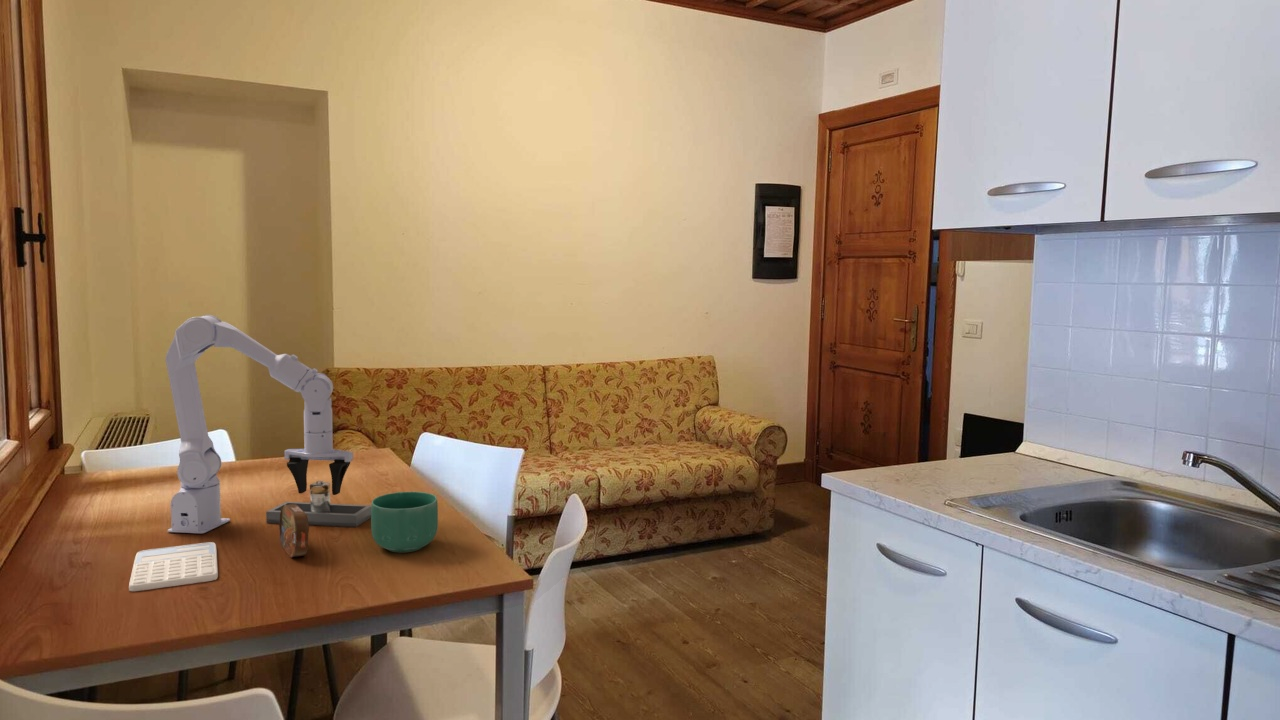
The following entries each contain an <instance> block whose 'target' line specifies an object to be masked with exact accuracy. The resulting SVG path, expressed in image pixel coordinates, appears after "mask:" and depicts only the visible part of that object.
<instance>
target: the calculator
mask: <svg viewBox="0 0 1280 720" xmlns="http://www.w3.org/2000/svg"><path fill="white" fill-rule="evenodd" d="M218 577H219V569H218V552H217V544H216V543H215V542H213V541H212V542H211V541H210V542H209V541H208V542H201V543H200V542H199V543H191V544H184V545H176V546H175V545H174V546H167V547H158V548H149V549H144V550H139V551H137V552H136V555H135V557H134V561H133V565H132V570H131V574H130V579H129V584H128V591H129V592H141V591H148V590H154V589H155V590H156V589H162V588H168V587H169V588H170V587H176V586H185V585H191V584H192V585H193V584H199V583H205V582H211V581H216V580H217V579H218Z"/></svg>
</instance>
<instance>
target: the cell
mask: <svg viewBox="0 0 1280 720" xmlns="http://www.w3.org/2000/svg"><path fill="white" fill-rule="evenodd" d="M309 496H310V497H309V498H310V502H309V503H311V512H319V513H331V512H330V504H331V483H330V482H327V481H324V480H317V481H316V482H313V483H312V482H311V483H310V484H309Z"/></svg>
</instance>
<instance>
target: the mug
mask: <svg viewBox="0 0 1280 720" xmlns="http://www.w3.org/2000/svg"><path fill="white" fill-rule="evenodd" d="M370 505H371V518H370V524H371V526H370V528H371V535H372V538H373V540H374V542H375V543H376V544H377V545H378V546H380V547H381V548H383V549H386V550H387V551H390V552H393V553H411V552H416V551H418V550H421V549H422V548H424V547H425V546H427V545H429V544H430V543H432V541H433V540H434V539H435V537H436V536H437V535H436V534H437V532H438V526H439V513H438V512H439V511H438V510H439V508H438V498H437V496H436V495H435V494H433V493H429V492H423V491H401V492H399V491H398V492H393V493H386V494H382V495H380V496H377V497H375V498H374V499H373V500H372V501H371V504H370Z"/></svg>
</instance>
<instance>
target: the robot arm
mask: <svg viewBox="0 0 1280 720" xmlns="http://www.w3.org/2000/svg"><path fill="white" fill-rule="evenodd" d="M213 346H214V348H230V349H231V348H232V349H234V350H236V351H238V352H239V353H241V354H243V355H245V356H247V357H249V358H250V359H252V360H253V361H255V362H257V363H259V364H261V365H263V367H264V366H265V367H267V369H268V372H269V376H270V377H271V378H272V379H274V380H276V381H277V382H279V383H281V384H282V385H283V386H286V387H287V388H289V389H291V390H292V391H294V392H295V393H300V395H301V397H302V399H303V401H304V409H303V440H304V441H303V442H304V443H303V445H304V448H287V449H285V450H284V460H288V461H287V462H286V467H287V468H288V470H289V471H290V473H291V474H292V476H293V479H294V481H295V484H296V488H297V491H298V493H299V494H303V493H305V492H307V488H308V482H307V481H308V480H307V476H308V475H307V474H308V465H309V462H310V461H311V460H312V461H327V462H329V461H331V462H330V463H329V464H328V467H329V471H330V475H331V493H332V496H336V495H339V494H341V488H342V485H343V481H344V477H345V475H346V472H347V470H348V468H349V467H350V465H351V462H353V461H354V451H350V450H349V451H348V450H341V449H335V448H334V446H333V445H334V444H333V442H334V441H333V437H334V435H333V428H334V427H333V408H332V403H333V402H332V397H331V396H332V393H333V390H334V384H333V381H332V380H331V378H329V377H328V376H327V375H326V373H322V372H319V371H318V369H317V368H315V367H314V368H313V369H312V368H311V367H309V366H307V365H306V364H304V363H303V362H301V361H300V360H299V357H298V356H297V355H295V354H291V355H290V354H288V353H282V354H276V353H275V352H274V351H272V350H271V349H269V348H268V347H266V346H264V345H263V344H261V343H260V342H258V341H257V340H256V339H254V338H253V337H252V336H249V335H248V334H247V333H245V332H243V331H242V330H241V329H239V328H237V327H236V326H234V325H232V324H231V323H229V322H227V321H222V320H221V319H219V318H218V317H216V316H215V315H211V314H206V315H202V316H201V315H200V316H193V317H189V318H188V319H186V320H185V321H184V322H183V323H182V324H180V326H178V327H177V328H176V329H175V333H174V336H173V339H172V342H171V343H170V346H169V347H168V350H167V352H166V355H165V363H166V365H165V366H166V369H167V375H168V379H169V385H170V389H171V390H170V391H171V396H172V401H173V406H174V412H175V416H176V422H177V427H178V433H179V437H180V446H179V451H178V457H179V463H178V467H177V471H176V474H177V478H178V480H179V482H180V488H179V491H178V492H176V493H175V494H174V495H173V496H172V498H171V500H170V523H171V525H170V526H171V527H170V528H169V529H167V533H182V534H183V533H184V534H185V533H187V534H205V533H208V532H210V531H212V530H213V529H216V528H218V527H221V526H222V525H224V524H226V523H228V522H230V521H231V518H228V517H226V518H225V517H222V511H221V510H222V507H221V483H220V482H221V480H220V479H219V477H218V476H217V473H218V472H219V471H220V470H221V467H222V458H221V456H220V455H219V453H218V452H217V451H216V449H215V447H214V443H213V440H212V439H211V438H210V436H209V431H208V427H207V422H206V416H205V412H204V411H205V410H204V407H203V400H202V395H201V390H200V385H199V384H200V383H199V379H198V374H197V373H198V372H197V367H196V361H198V359H200V357H201V356H202V355H203V354H204V353H205V351H206V350H208V349H210V348H212V347H213ZM318 372H319V373H318Z"/></svg>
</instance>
